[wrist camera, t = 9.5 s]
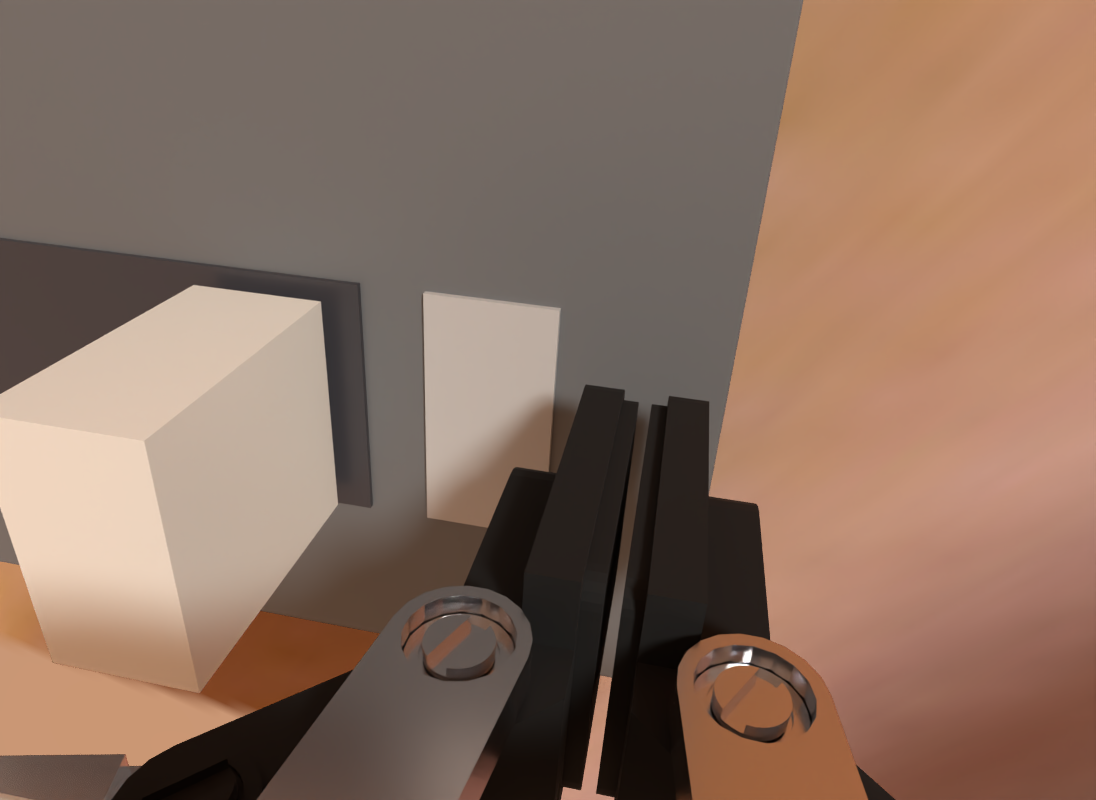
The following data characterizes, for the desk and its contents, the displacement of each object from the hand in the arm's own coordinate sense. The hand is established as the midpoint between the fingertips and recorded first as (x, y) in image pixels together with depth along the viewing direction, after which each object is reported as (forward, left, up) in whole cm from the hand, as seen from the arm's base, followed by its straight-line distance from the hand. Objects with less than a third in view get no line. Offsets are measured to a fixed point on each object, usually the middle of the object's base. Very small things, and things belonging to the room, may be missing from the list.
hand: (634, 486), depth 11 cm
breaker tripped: (+6, 0, -1) cm, 6 cm away
